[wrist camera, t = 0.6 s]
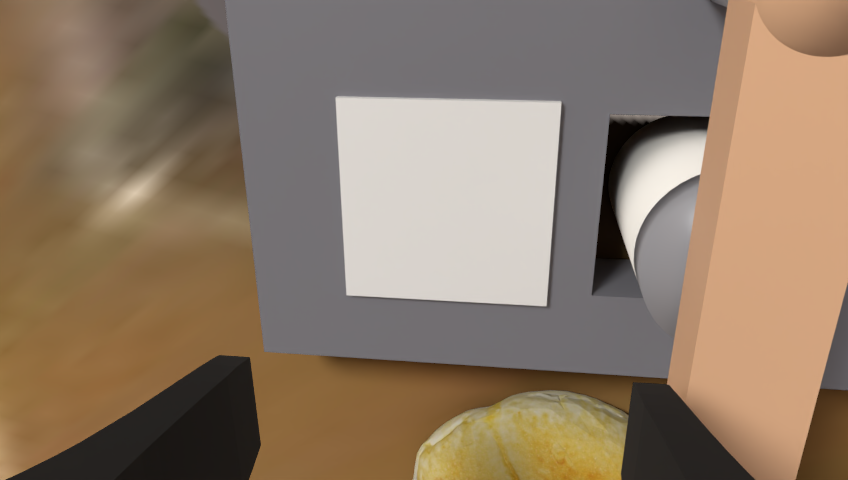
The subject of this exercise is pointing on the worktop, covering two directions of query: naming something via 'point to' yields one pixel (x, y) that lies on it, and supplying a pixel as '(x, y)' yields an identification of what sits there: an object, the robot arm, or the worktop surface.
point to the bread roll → (528, 441)
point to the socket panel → (458, 174)
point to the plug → (659, 206)
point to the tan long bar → (768, 232)
